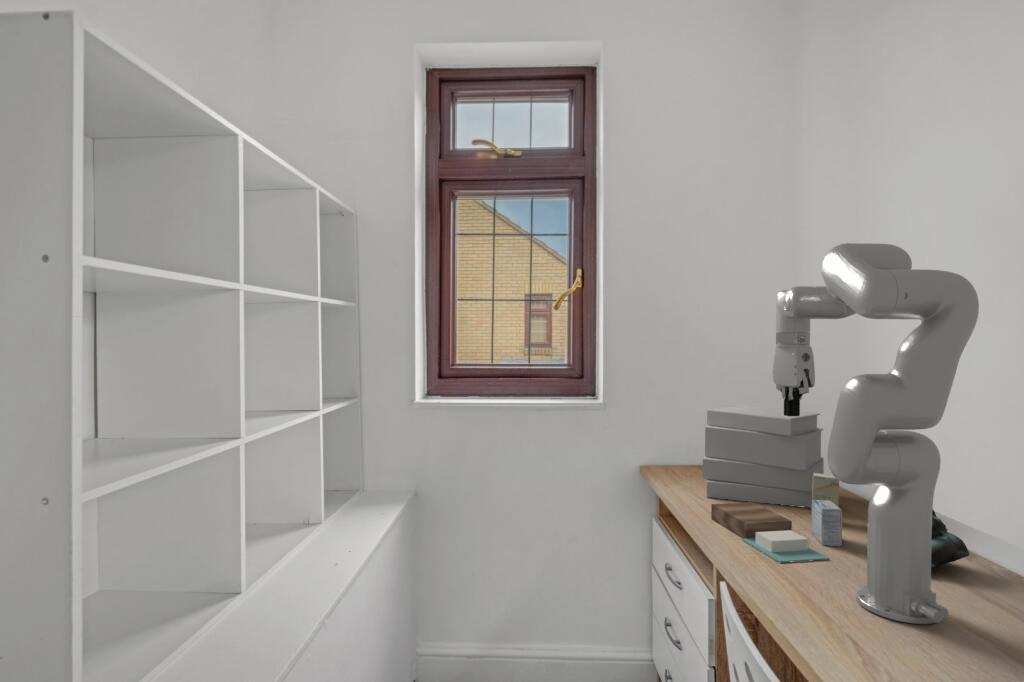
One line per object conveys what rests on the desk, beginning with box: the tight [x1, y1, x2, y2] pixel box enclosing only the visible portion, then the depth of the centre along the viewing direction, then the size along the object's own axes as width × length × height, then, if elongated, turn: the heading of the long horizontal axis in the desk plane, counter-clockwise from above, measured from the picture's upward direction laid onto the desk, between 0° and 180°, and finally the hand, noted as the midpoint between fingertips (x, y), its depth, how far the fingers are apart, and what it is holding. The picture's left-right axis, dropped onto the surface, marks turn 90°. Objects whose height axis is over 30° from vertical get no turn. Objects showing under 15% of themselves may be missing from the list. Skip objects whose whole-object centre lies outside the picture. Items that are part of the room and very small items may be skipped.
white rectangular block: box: [755, 530, 809, 552], centre depth 133 cm, size 6×9×2 cm, turn 100°
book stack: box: [702, 405, 825, 508], centre depth 179 cm, size 30×35×26 cm
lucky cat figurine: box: [931, 509, 970, 569], centre depth 125 cm, size 15×12×14 cm
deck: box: [710, 502, 793, 539], centre depth 147 cm, size 16×12×4 cm
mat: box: [741, 538, 830, 564], centre depth 132 cm, size 14×12×1 cm
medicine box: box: [811, 500, 843, 547], centre depth 138 cm, size 8×4×9 cm, turn 168°
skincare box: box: [811, 473, 840, 521], centre depth 153 cm, size 6×4×12 cm
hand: (791, 415), depth 142 cm, fingers closed
